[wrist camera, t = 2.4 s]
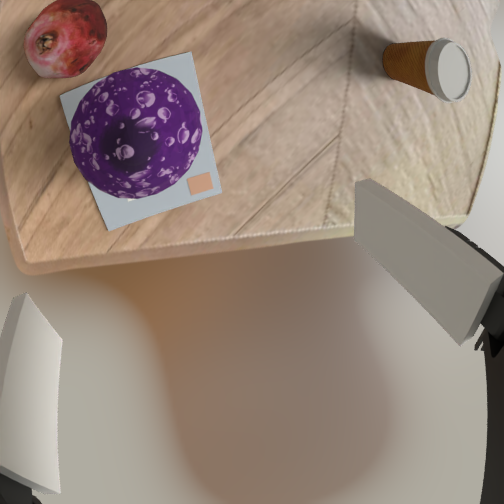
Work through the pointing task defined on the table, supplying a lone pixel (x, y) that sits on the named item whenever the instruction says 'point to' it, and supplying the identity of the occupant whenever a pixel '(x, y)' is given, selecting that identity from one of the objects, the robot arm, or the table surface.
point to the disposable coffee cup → (431, 67)
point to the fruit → (65, 38)
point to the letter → (188, 186)
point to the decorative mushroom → (135, 133)
